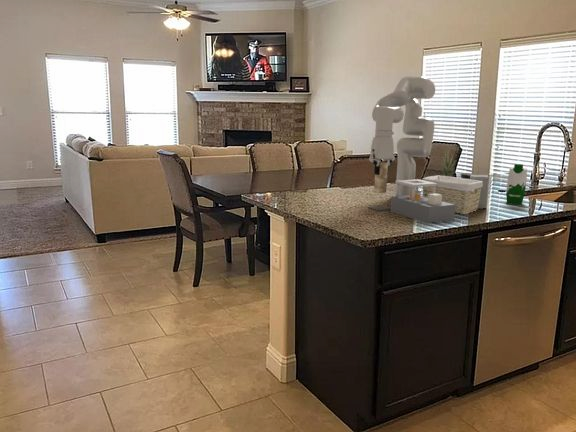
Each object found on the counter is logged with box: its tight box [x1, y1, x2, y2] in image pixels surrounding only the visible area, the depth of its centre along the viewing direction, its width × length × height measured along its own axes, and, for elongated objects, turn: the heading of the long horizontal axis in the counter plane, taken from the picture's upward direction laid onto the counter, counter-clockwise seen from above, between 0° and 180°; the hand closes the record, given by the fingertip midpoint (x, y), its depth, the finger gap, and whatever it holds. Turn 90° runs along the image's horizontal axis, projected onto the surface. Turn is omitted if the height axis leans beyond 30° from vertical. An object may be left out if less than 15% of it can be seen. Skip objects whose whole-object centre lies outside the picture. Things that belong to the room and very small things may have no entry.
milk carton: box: [505, 163, 528, 205], centre depth 258 cm, size 9×9×20 cm
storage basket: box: [421, 174, 483, 215], centre depth 239 cm, size 24×16×15 cm
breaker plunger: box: [409, 193, 422, 200], centre depth 229 cm, size 5×5×8 cm
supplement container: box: [460, 172, 480, 179], centre depth 278 cm, size 10×10×12 cm
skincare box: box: [470, 174, 489, 209], centre depth 245 cm, size 8×7×16 cm
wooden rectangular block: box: [373, 161, 389, 194], centre depth 235 cm, size 4×4×14 cm
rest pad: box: [368, 205, 391, 212], centre depth 238 cm, size 7×7×1 cm
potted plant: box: [439, 151, 457, 177], centre depth 298 cm, size 10×10×25 cm
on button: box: [428, 193, 442, 205], centre depth 217 cm, size 4×4×7 cm
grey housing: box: [389, 178, 456, 224], centre depth 224 cm, size 26×14×14 cm, turn 25°
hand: (381, 173), depth 234 cm, fingers closed on wooden rectangular block, 4 cm apart
